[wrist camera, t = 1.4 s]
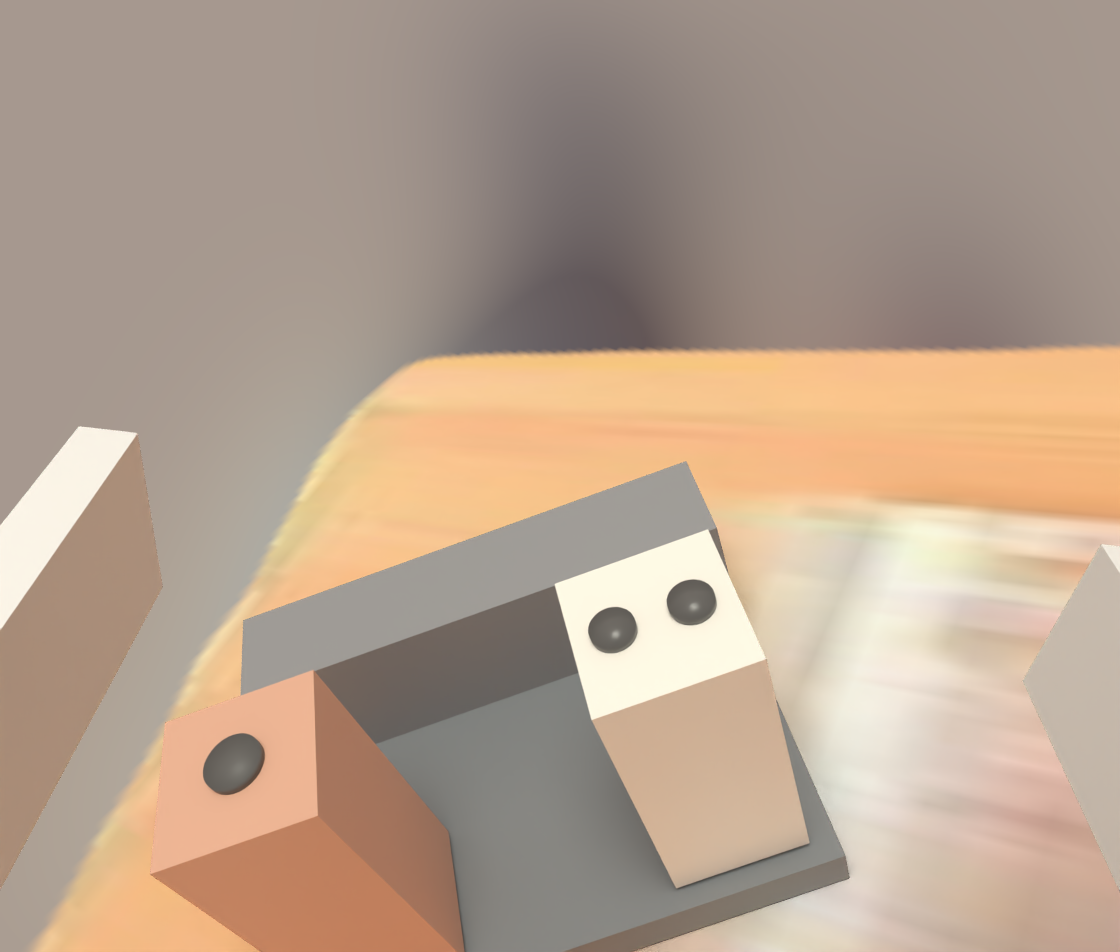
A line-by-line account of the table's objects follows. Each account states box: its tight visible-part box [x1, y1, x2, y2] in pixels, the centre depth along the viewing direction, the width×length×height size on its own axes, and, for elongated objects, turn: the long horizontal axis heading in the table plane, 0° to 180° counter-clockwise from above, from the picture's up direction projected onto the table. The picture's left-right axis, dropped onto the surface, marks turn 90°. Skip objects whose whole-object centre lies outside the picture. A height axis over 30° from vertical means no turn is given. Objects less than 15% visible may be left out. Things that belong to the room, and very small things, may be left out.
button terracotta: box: [150, 670, 465, 952], centre depth 33 cm, size 5×5×12 cm
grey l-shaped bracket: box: [241, 461, 849, 952], centre depth 39 cm, size 15×20×8 cm
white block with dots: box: [555, 529, 810, 888], centre depth 32 cm, size 5×5×12 cm
